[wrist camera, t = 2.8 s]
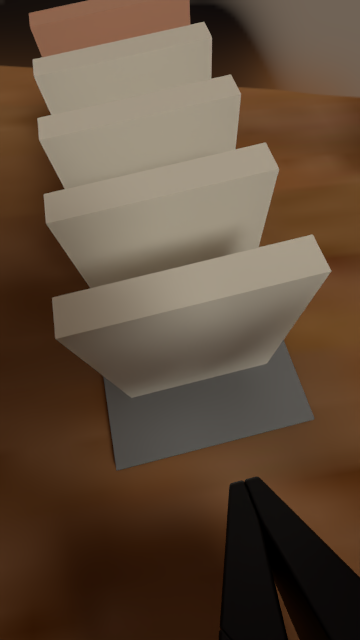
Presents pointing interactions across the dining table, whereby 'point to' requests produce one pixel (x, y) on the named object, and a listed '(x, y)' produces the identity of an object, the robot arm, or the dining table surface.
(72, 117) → the tile
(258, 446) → the dining table surface
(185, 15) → the tile
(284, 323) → the tile
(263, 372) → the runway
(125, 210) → the tile
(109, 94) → the tile
